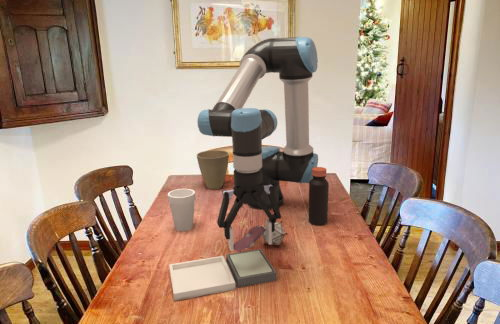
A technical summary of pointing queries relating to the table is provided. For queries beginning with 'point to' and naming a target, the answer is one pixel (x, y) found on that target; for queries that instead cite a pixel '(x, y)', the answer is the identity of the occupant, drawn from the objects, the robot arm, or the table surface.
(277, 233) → the game die
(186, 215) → the foam cup
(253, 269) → the pale green flat panel
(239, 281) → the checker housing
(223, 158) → the plant pot
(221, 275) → the tray
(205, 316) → the table surface
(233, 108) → the robot arm
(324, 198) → the bottle
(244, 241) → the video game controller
